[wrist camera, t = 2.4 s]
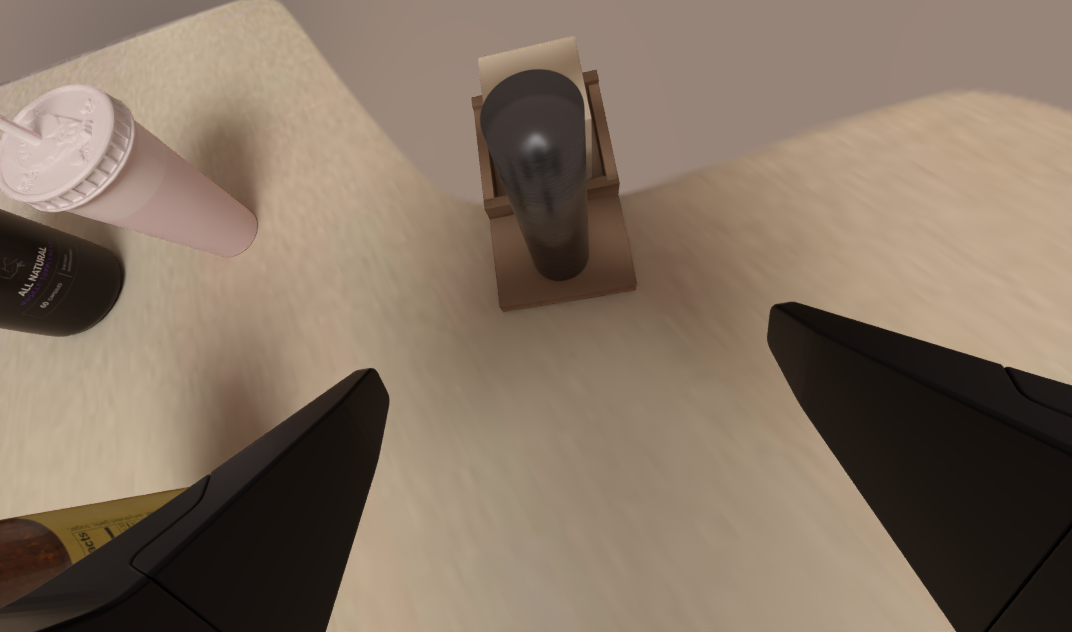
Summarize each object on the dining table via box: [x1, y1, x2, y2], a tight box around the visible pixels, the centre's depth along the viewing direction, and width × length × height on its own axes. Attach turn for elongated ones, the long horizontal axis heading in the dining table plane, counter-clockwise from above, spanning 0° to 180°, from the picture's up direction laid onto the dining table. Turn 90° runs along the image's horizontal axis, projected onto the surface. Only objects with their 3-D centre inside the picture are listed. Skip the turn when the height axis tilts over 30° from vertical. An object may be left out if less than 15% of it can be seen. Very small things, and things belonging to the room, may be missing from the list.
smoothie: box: [0, 84, 257, 257], centre depth 21 cm, size 6×6×14 cm
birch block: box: [478, 36, 592, 179], centre depth 22 cm, size 5×5×5 cm
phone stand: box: [472, 69, 637, 312], centre depth 19 cm, size 13×8×12 cm, turn 8°
